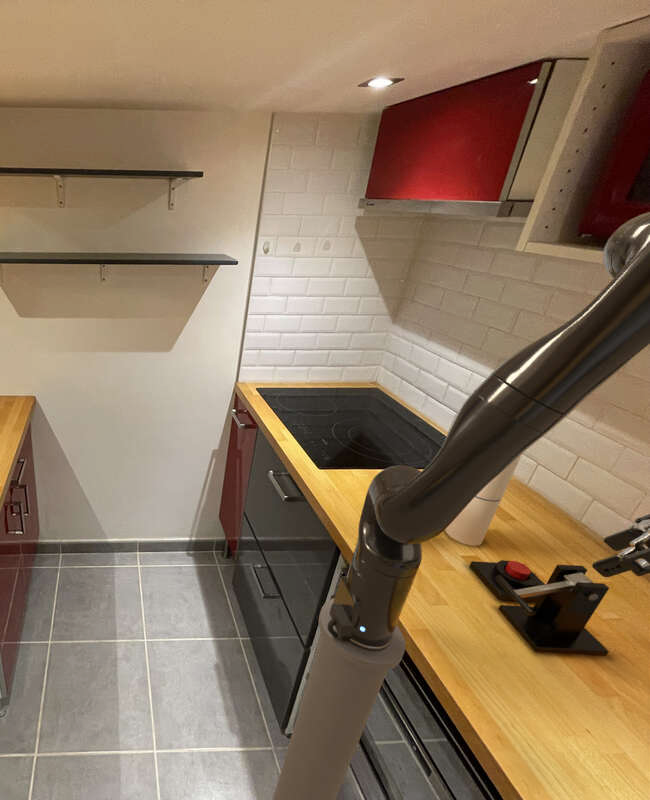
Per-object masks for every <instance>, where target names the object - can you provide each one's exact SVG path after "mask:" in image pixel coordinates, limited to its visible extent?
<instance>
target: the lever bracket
mask: <svg viewBox="0 0 650 800" xmlns="http://www.w3.org/2000/svg"><path fill="white" fill-rule="evenodd" d="M581 572H582V573H583V574H584V575H585V576H586V573H587V572H588V569H587V568H586V567H585V566H584V565H574V564H556V566H555V568H554V569H553V571H552V573H551V574H550V576H549V579H548V580H547V582H546V584H552V583H557V582H563V581H564V575H570V574H575V573H581ZM609 590H610V587H609V586H608V585H606V584H605V583H602V582H601V583H600V582H593V583H584V582H577V583H576V585H575V586H574V588H573V590H572V591H571V592H570V591H569V590H566V591H560V592H554V593H548V594H543V595H540V596H539V598H538V600H537V601H536V603H534V605H533V606H530V607H531V608H532V609H533V610H534V612H535V615H533V616H529V615H528V614H527V613H526V612H525V611H524V610H523V608H522V607H521V606H520V605H510V604H499V607H498V611H499V612H500V613H501V614H502V615H503V616H504V618H505V619H506V620H507V621H508V622H509V623H510V625H512V627H513V628H514V629H515V630H516V631H517V633H518V634H519V635H520V636H521V637H522V638H523V639H524V641H525V642H526V644H528V645H529V647H530V648H531V649H532V650H533V651H534V652H535V653H550V654H566V655H568V654H569V655H585V656H598V657H599V656H600V657H606V656H607V655H608V654H609V650H608V649H607V648H606V647H605V646H604V645H603V643H601V642H600V641H599V640H598V639H597V638H596V637H595V636H594V635H593V634H592V633H591V632H590V631H589V630H588V629H587V628H586V626H587V624H588V622H589V621H590V619H591V618H592V616H593V615H594V613H595V611H596V610H597V608H598V607H599V605H600V604H601V602H602V600H603V599H604V597H605V596H606V594H607V593H608V591H609Z"/></svg>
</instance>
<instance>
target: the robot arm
mask: <svg viewBox="0 0 650 800" xmlns="http://www.w3.org/2000/svg"><path fill="white" fill-rule="evenodd" d="M602 262H603V265H604V268H605V271H606V273H608V275H609V276H610V277H611V278H612V280H611V281H610V282H609V283H608V284H607V285H606V286H605V287H604V288H603V289H602V290H601V291H600V292H599V293H598V294H597V295H596V297H595V298H593V300H591V302H589V303H588V304H587V305H586V306H585V307H584V308H583V309H582V310H581V311H579V312H578V313H577V314H575V315H574V316H573V317H572V318H570V319H569V320H567V321H566V322H564V323H563V324H562V325H560V326H559V327H557V328H555V329H554V330H552V331H550V332H548V333H546V334H545V335H543V336H541V337H540V338H537V340H535V341H533V342H532V343H530V344H528V345H526V346H525V347H523V348H521V349H520V350H518V351H517V352H515V353H514V354H512V355H510V357H508V358H507V359H505V360H504V361H503V362H502V363H500V364H499V365H498V366H497V367H496V368H495V369H494V370H493V371H492V372H490V374H489V375H487V377H486V378H485V379H484V380H483V381H482V382H481V383H480V384H479V385H478V386H477V387H476V388H475V389H474V390H473V391H472V392H471V393H470V395H469V396H468V397H467V398H466V399H465V401H463V403H462V405H461V407H460V408H459V410H458V412H457V413H456V416H455V418H454V420H453V421H452V424H451V426H450V428H449V430H448V433H447V435H446V436H445V439H444V440H443V443H442V445H441V447H440V449H439V450H438V451H437V454H436V455H435V457H434V458H433V459H432V460H431V461H430V463H428V464H427V466H426V467H424V468H423V469H422V470H420V469H418V468H415V467H414V466H409V465H401V464H400V465H393V466H392V465H391V466H389V467H387V468H385V469H382V470H381V471H380V472H378V473H377V474H376V475H375V476H374V477H373V478H372V480H371V482H370V483H369V486H368V488H367V492H366V495H365V499H364V502H363V506H362V511H361V514H360V518H359V522H358V533H357V534H358V535H357V541H356V545H355V548H354V552H353V554H352V558H351V561H350V564H349V568H348V571H347V573H346V576H343V575H342V576H341V577H340V578H339V582H338V585H337V589H336V593H335V595H334V598H335V599H334V602H333V604H332V606H331V609H330V613H329V614H330V616H331V618H332V619H331V620H330V621H329V623H328V631H329V632H330V633H331V634H332V635H333V637H334V638H337V637H338V634H339V636H341V638H342V640H343V641H344V642H350V643H352V644H353V645H355V646H357V647H359V648H362V649H365V650H369V651H381V650H384V649H386V648H387V647H388V646H389V644H390V642H391V639H392V635H393V632H394V630H395V627H396V625H398V622H399V619H400V616H401V614H402V613H403V612H402V611H403V609H404V607H405V604H406V602H407V599H408V596H409V594H410V591H411V588H412V586H413V584H414V581H415V578H416V577H417V574H418V571H419V569H420V566H421V564H422V558H423V550H422V543H426V542H428V541H431V540H432V539H435V538H436V537H438V536H439V535H440V534H442V533H443V532H445V531H446V530H445V529H446V528H447V527H448V526H449V525H450V524H451V523H452V522H453V521H454V519H455V518H456V517H457V516H458V515H459V514H460V513H461V512H462V511H463V509H464V508H465V507H466V506H467V505H468V504H469V503H470V502H471V501H472V500H473V498H474V497H475V496H476V495H477V494H478V493H479V492H480V491H481V490H482V489H483V488H484V487H485V486H486V485H487V484H488V483H490V482H491V481H492V480H493V479H494V478H495V477H496V476H498V475H499V474H500V473H501V472H502V471H503V470H504V469H506V468H507V467H508V466H509V465H510V464H511V463H512V462H513V461H514V460H515V459H517V458H518V457H519V456H520V455H521V454H522V455H523V453H525V452H526V451H527V450H528V449H530V447H532V446H533V445H535V443H537V442H538V441H540V440H541V439H542V438H544V436H546V435H547V434H548V433H549V432H550V431H552V430H553V429H554V428H555V427H556V426H557V425H559V424H560V423H561V422H562V421H563V420H564V419H565V418H566V417H568V415H570V414H572V413H573V411H574V410H575V409H577V408H578V407H579V406H580V405H581V404H582V403H583V402H584V401H585V400H586V399H587V398H589V397H590V396H591V395H593V394H594V393H595V392H596V391H597V390H598V389H600V388H601V386H603V385H604V384H605V383H607V381H609V380H610V379H611V378H612V377H613V376H615V375H617V373H618V372H619V371H620V370H621V369H623V368H624V367H625V366H627V364H628V363H629V362H630V361H631V360H633V359H634V358H635V357H636V356H638V355H639V354H640V353H641V352H642V351H643V350H644V349H646V348H647V347H648V346H650V211H647V212H644V213H642V214H639V215H637V216H635V217H633V218H630V219H629V220H627V221H626V222H624V223H623V224H621V225H620V226H619V227H618V228H617V229H615V230H614V231H613V233H612V234H611V235H610V236H609V238H608V239H607V242H606V243H605V245H604V248H603V252H602ZM522 455H521V456H522ZM603 542H604V543H605V545H606V546H608V548H611V549H612V550H613V551H615V552H619V553H618V554H617V553H616V554H614V555H611V556H609V557H604V558H602V559H599V560H596V561H594V562H593V563H592V564H591V566H592V569H594V570H595V572H597V573H598V574H599V575H600V576H602V577H603V578H610V577H614V576H616V575H620V574H623V573H626V572H630V571H631V572H632V573H633V574H634V575H635V576H637V577H642V576H645V575H648V574H650V513H649V514H645V515H643V516H641V517H637V518H636V519H635V520H634V523H632V524H630V525H629V526H628V527H627V528H626V529H624V530H621V531H618V532H616V533H612V534H611V535H608V536H605V537H604V539H603ZM620 551H621V552H620ZM641 559H642V560H641ZM637 560H640V561H637ZM334 625H335V627H336V630H337V632H338V634H337V633H336V632H335V631H334V629H333V626H334Z"/></svg>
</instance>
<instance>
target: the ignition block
mask: <svg viewBox="0 0 650 800" xmlns="http://www.w3.org/2000/svg"><path fill="white" fill-rule="evenodd" d="M509 561H510V560H506V559H505V560H502V559H500V560H499V561H497V562H492V561H475V560H473V561H472V560H471V562H470V564H469V565H468V568H469V569H470V570H471V571H472V572H473V574H474V575H475V576H476V577H477V578H478V579H479V580H480V581H481V583H482V584H483V586H485V587H486V588H487V590H488V591H489V592H490V593H491V594H492V595H493V596H494V597H495V599H496V600H497V601H498V602H510V603H511V602H512V603H517V602H516V601H515V600H514V599H513V598H512V596H511V595H510V594H509V593H508V592H507V591H506V590H505V589H504V588H503V587H502V586H501V585H500V583H499V582H498V581H497V580H496V579H495V577H496V576H498V575H500V576H501V577H502V578H503V579H504V580H505V581H506V582H507V583H508V584H509V585H510V586H511V587H512V588H513V589H514V590H518V589H524V588H529V587H535V586H541V585H546V584H547V583H546V584H545V582H543V580H542V579H540V577H539V576H538V575H536V574H535V573H534V572H533V571H532V570H531V569H530V571H531V573H530V575H529V577H528V579H527V580H520V579H517V578H515V577H513V576H511V575H510V574H508V573H507V572H506V571H505V568H506V566H507V564H508V562H509ZM523 564H524V565H526V564H525V563H523ZM539 596H540V595H537V596H531V597H526V598H522V599H523V600H524V601H525V602H526V603H527V604H529V603H531V604H535V603H536V601H537V600H538V598H539Z"/></svg>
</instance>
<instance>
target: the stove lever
mask: <svg viewBox="0 0 650 800" xmlns="http://www.w3.org/2000/svg"><path fill="white" fill-rule="evenodd" d="M495 579H496V580H497V581H498V582H499V583H500V585H501V586H502V587H503V588H504V589H505V590H506V591H507V592H508V593H509V594H510V595H511V596H512V598H513V599H514V600H515V601H516V602H515V603H517V604H518V606H521V607H522V608H523V610H524V611H525V612H526V613H527V614H528V615H529V616H533V615H535V612H534V610H533V609H532V608H531V607H532V606H530V605H529V603H528V602H525V601H524V600H523V599H522V598H526V597H531V596H537V595H543V594H548V593H554V592H560V591H566V590H569V591H570V592H571V591H572V590H573V588H574V586H575V585H576V583H577V582H584V583H594V581H593V580H592V579H590V578H589V577H588V576H587V575H586V574H585V575H584V574H583V573H582V572H581V573H575V574H570V575H564V581H563V582H557V583H552V584H547V583H546V585H541V586H535V587H529V588H524V589H518V590H514V589H513V588H512V587H511V586H510V585H509V584H508V583H507V582H506V581H505V580H504V579H503V578H502V577H501V576H500V575H498V576H496V577H495Z"/></svg>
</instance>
